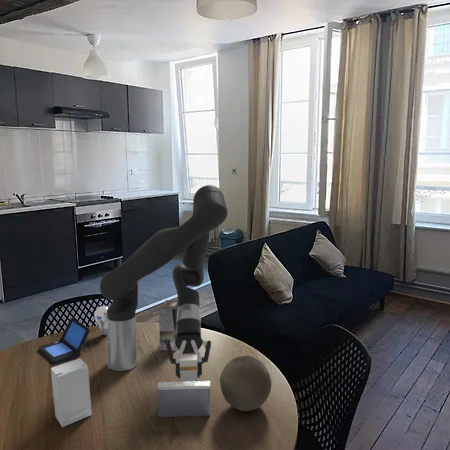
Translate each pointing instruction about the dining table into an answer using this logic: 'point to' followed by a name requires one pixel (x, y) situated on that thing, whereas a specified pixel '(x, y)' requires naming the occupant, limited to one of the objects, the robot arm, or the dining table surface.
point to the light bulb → (102, 319)
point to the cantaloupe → (245, 383)
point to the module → (188, 367)
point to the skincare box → (71, 392)
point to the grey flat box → (184, 398)
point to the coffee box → (168, 323)
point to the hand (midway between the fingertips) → (189, 377)
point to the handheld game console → (67, 343)
